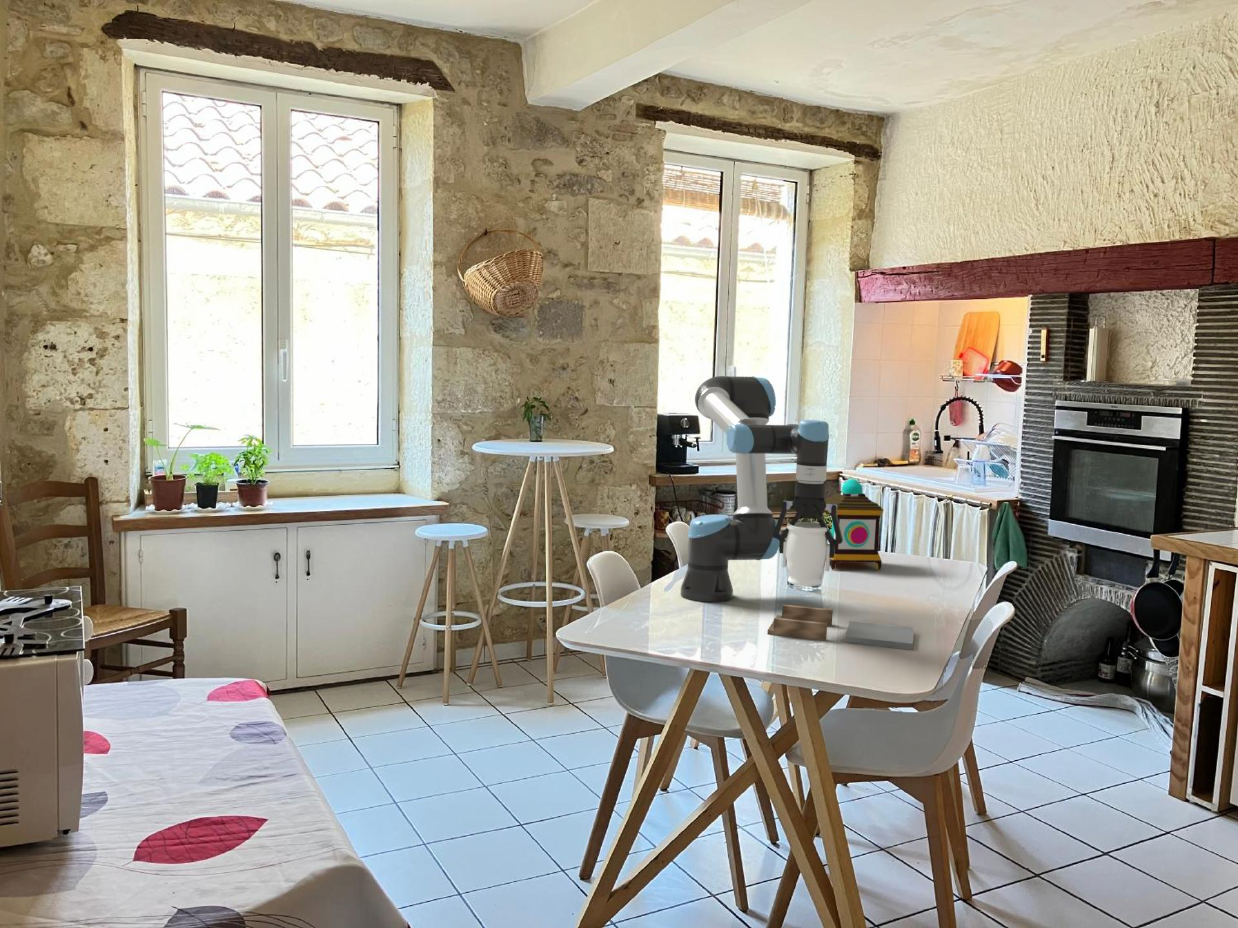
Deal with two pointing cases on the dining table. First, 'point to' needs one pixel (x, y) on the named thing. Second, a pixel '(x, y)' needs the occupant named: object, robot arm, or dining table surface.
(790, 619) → the brown wooden u-shaped frame
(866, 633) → the plate
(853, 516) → the decorative lantern
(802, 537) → the jar
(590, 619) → the dining table surface
